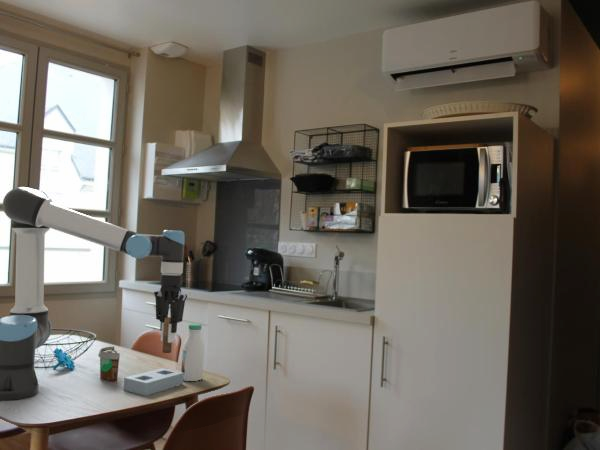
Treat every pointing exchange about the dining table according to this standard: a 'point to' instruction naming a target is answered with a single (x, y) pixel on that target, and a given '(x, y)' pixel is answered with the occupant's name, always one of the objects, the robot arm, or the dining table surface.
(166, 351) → the peg
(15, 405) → the dining table surface
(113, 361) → the food container
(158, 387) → the hole block
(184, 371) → the milk bottle
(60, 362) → the gear
